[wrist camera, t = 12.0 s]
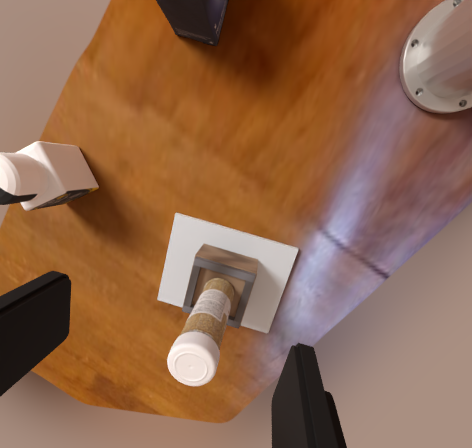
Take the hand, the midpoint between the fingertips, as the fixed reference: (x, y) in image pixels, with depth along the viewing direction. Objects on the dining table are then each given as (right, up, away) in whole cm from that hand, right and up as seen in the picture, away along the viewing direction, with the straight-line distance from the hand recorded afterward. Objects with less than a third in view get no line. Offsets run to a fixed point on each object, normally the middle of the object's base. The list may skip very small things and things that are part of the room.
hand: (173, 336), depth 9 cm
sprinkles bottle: (0, -5, +24) cm, 25 cm away
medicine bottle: (-24, +12, +29) cm, 39 cm away
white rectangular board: (+1, -4, +30) cm, 30 cm away
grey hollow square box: (+1, -4, +30) cm, 30 cm away
